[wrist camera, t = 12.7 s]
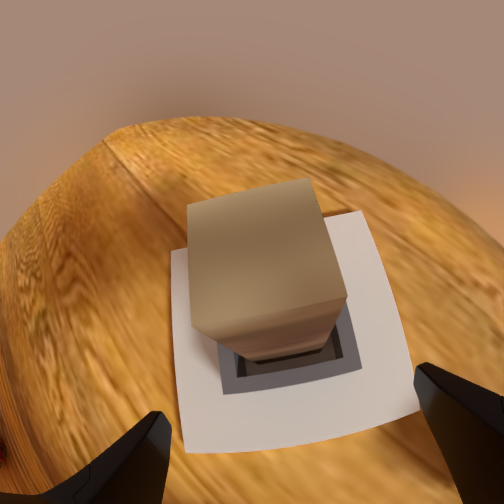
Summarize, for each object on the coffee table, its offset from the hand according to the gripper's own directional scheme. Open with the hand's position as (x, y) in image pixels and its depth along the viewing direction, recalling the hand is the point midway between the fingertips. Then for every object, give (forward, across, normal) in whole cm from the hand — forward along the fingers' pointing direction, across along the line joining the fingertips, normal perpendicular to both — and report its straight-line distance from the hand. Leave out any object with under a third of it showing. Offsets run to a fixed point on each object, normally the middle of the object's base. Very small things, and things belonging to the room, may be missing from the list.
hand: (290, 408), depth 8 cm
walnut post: (+12, 0, +4) cm, 12 cm away
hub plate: (+12, 0, +5) cm, 13 cm away
